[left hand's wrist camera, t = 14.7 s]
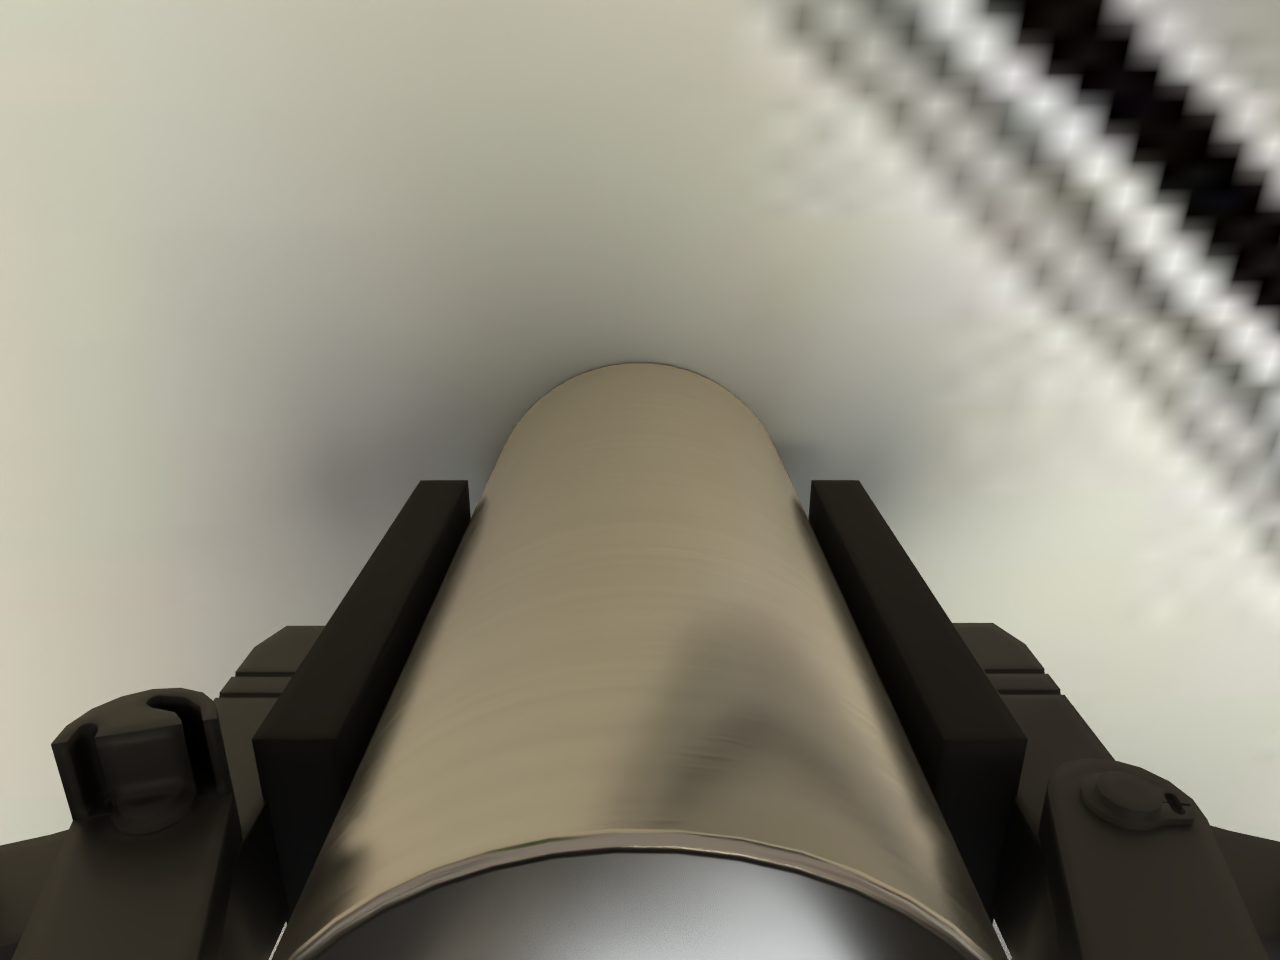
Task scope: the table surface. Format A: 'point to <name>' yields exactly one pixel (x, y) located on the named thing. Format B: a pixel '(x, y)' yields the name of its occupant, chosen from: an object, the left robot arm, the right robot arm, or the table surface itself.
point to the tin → (639, 723)
